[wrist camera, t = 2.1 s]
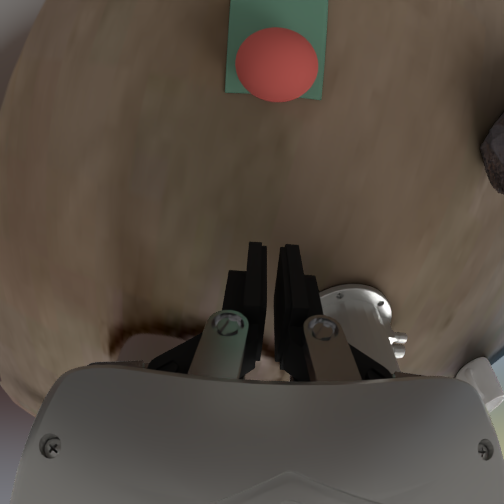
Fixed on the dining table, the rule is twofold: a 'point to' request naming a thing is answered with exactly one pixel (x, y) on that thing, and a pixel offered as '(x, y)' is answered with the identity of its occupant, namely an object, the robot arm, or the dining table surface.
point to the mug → (483, 381)
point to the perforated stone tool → (495, 155)
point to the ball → (276, 64)
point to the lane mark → (283, 16)
